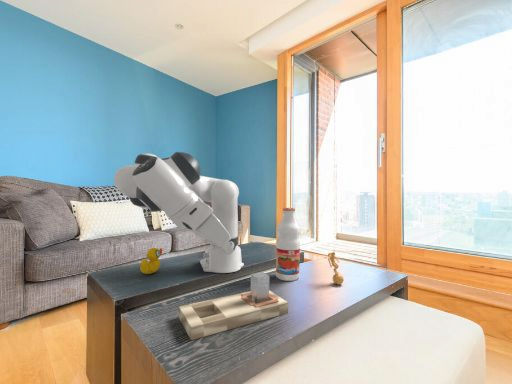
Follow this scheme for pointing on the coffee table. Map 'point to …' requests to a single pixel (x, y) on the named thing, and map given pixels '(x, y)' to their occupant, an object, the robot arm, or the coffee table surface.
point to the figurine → (336, 277)
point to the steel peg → (259, 287)
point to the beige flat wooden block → (228, 313)
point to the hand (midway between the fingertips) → (223, 248)
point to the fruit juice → (288, 247)
